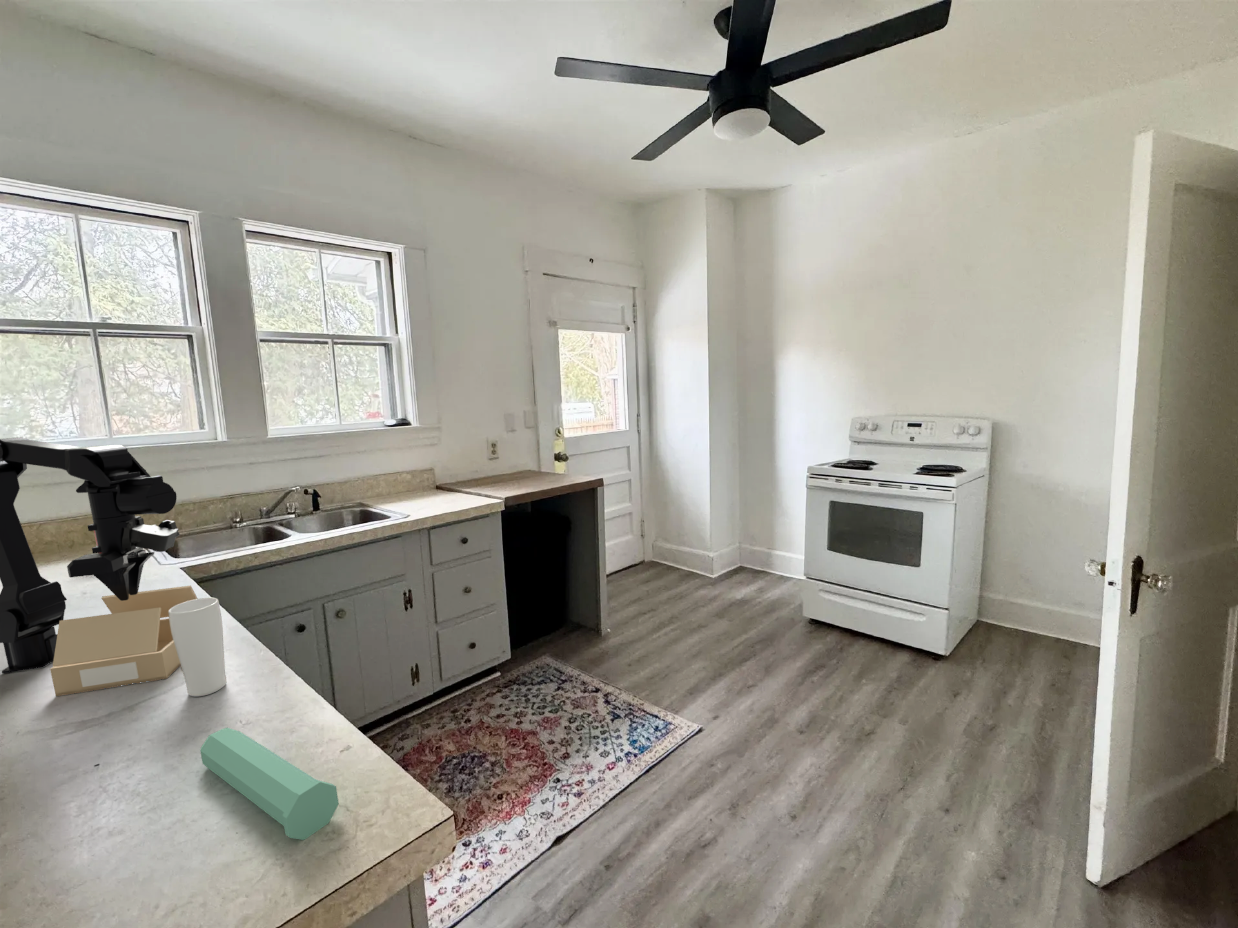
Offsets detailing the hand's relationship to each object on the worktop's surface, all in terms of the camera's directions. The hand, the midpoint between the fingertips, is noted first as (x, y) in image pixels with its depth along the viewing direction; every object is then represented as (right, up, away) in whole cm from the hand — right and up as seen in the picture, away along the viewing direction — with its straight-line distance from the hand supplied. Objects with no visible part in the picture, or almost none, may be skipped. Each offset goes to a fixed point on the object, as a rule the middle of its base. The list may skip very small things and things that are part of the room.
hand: (129, 597), depth 103 cm
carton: (+1, -13, +2) cm, 13 cm away
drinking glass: (+21, -14, -9) cm, 27 cm away
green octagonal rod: (+47, -16, -34) cm, 60 cm away
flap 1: (+2, -5, -6) cm, 8 cm away
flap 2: (-2, -3, +8) cm, 8 cm away
